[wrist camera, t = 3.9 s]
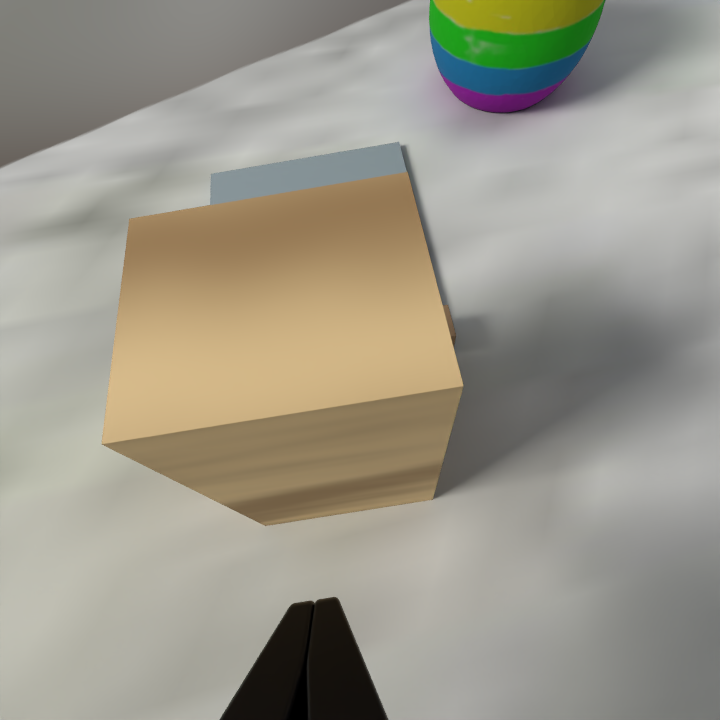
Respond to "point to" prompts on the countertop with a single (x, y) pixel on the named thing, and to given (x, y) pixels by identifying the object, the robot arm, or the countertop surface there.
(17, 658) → the countertop surface
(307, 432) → the oak block
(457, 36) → the decorative egg
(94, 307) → the countertop surface
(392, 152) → the slate mat
